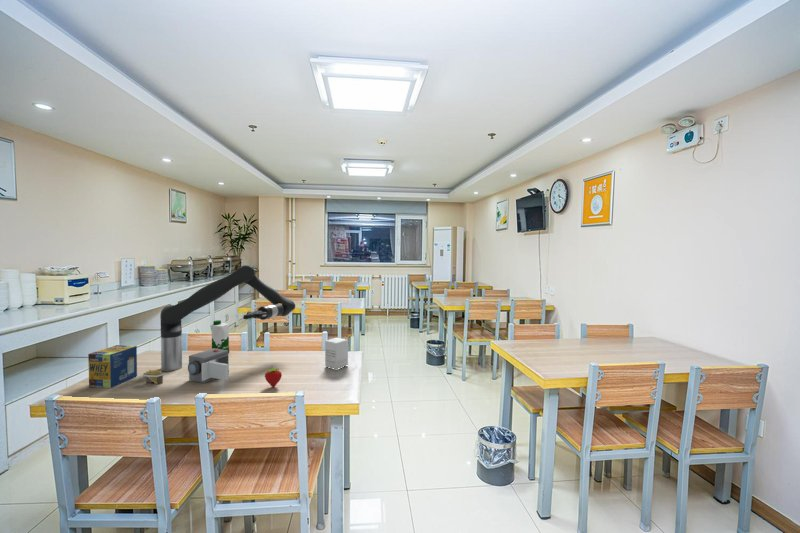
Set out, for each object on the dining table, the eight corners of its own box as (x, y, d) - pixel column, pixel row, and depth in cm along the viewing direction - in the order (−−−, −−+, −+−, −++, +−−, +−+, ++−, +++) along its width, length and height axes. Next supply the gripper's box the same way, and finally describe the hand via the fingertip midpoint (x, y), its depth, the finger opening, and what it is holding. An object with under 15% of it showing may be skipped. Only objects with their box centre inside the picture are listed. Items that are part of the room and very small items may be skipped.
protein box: (88, 387, 156) (87, 353, 156) (117, 375, 172) (117, 344, 171) (110, 388, 156) (109, 354, 155) (137, 376, 171) (137, 345, 171)
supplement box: (336, 363, 195) (336, 337, 194) (348, 366, 190) (348, 339, 189) (324, 367, 187) (324, 340, 187) (336, 371, 182) (336, 342, 182)
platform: (162, 390, 156) (162, 375, 155) (123, 389, 156) (123, 374, 156) (180, 380, 168) (180, 367, 167) (144, 379, 168) (144, 366, 168)
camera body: (200, 385, 161) (200, 358, 160) (184, 382, 164) (184, 355, 164) (229, 373, 176) (228, 348, 176) (213, 371, 180) (213, 346, 179)
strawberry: (279, 389, 157) (279, 367, 157) (262, 389, 157) (262, 367, 156) (283, 384, 163) (283, 363, 162) (267, 384, 163) (267, 363, 162)
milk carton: (219, 351, 215) (218, 319, 214) (232, 352, 213) (231, 320, 212) (208, 355, 207) (208, 322, 206) (222, 356, 205) (221, 322, 204)
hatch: (220, 384, 157) (220, 366, 157) (201, 380, 161) (201, 363, 161) (233, 379, 163) (232, 362, 163) (214, 375, 167) (214, 359, 167)
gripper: (258, 304, 199) (234, 309, 183) (277, 306, 194) (254, 311, 178) (258, 317, 199) (234, 323, 183) (277, 319, 195) (254, 325, 179)
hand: (244, 317), depth 181 cm, fingers closed
